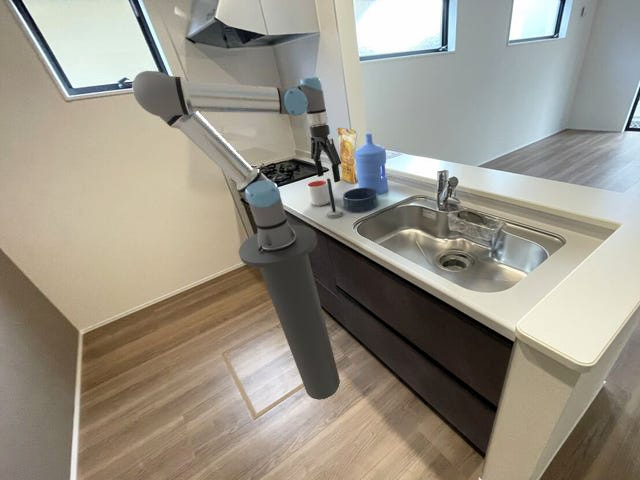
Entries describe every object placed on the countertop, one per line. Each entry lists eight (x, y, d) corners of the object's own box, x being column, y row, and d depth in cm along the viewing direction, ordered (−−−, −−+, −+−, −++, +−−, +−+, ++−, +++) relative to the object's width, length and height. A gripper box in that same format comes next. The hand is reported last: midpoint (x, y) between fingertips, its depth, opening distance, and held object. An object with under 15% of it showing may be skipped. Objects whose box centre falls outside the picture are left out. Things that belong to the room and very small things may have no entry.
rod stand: (332, 219, 135) (325, 181, 125) (325, 215, 139) (318, 178, 129) (344, 214, 138) (338, 177, 128) (336, 211, 142) (330, 175, 132)
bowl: (358, 215, 136) (356, 203, 132) (337, 206, 147) (336, 195, 143) (385, 204, 143) (384, 192, 140) (364, 196, 154) (362, 185, 151)
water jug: (364, 198, 153) (358, 139, 136) (355, 189, 165) (348, 134, 149) (392, 192, 156) (389, 134, 140) (382, 183, 168) (378, 129, 152)
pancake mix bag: (348, 175, 188) (341, 126, 172) (362, 181, 174) (357, 129, 158) (338, 177, 186) (331, 128, 170) (352, 184, 172) (346, 131, 156)
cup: (318, 198, 159) (314, 179, 153) (334, 200, 155) (330, 180, 149) (307, 205, 152) (303, 186, 146) (323, 207, 148) (319, 187, 142)
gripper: (344, 124, 110) (352, 181, 122) (311, 121, 127) (321, 171, 139) (327, 128, 106) (337, 186, 119) (295, 124, 123) (307, 176, 135)
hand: (328, 178), depth 129 cm, fingers open, 13 cm apart
